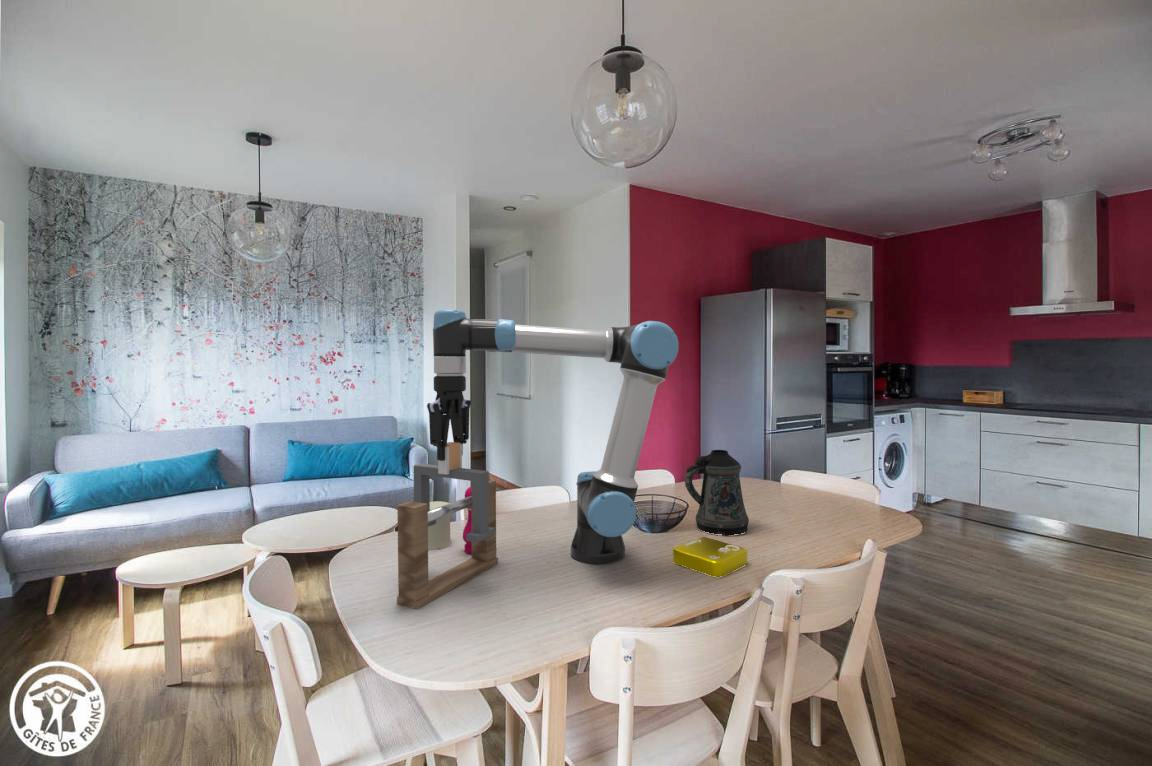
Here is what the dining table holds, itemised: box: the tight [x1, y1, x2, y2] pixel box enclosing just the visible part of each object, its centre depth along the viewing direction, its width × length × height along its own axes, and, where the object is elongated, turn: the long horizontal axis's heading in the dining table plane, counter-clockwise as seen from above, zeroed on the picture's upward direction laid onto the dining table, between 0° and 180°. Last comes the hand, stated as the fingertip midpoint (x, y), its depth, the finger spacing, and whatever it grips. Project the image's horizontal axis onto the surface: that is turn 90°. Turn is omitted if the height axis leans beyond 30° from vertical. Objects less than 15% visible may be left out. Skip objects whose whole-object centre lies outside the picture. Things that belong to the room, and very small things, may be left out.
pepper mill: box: [462, 486, 472, 555], centre depth 153 cm, size 7×7×20 cm
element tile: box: [672, 536, 748, 578], centre depth 144 cm, size 15×15×5 cm
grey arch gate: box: [413, 441, 495, 543], centre depth 131 cm, size 21×7×22 cm, turn 63°
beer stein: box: [684, 449, 750, 535], centre depth 173 cm, size 16×19×25 cm
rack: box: [396, 479, 499, 610], centre depth 132 cm, size 6×30×22 cm, turn 153°
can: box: [428, 500, 452, 550], centre depth 159 cm, size 9×9×12 cm
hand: (450, 471), depth 131 cm, fingers closed on grey arch gate, 4 cm apart
